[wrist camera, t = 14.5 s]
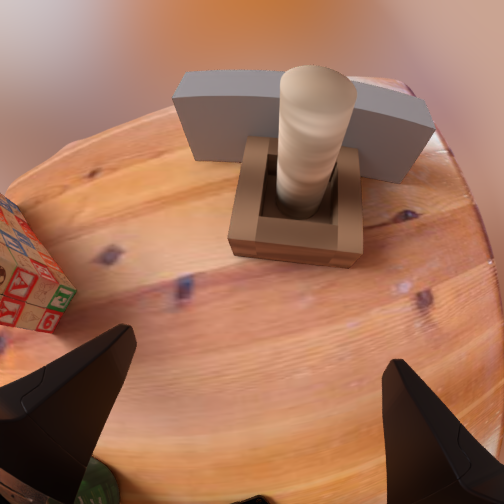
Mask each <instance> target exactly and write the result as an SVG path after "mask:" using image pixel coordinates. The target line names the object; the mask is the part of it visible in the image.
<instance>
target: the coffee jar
mask: <svg viewBox="0 0 504 504" xmlns="http://www.w3.org/2000/svg"><path fill="white" fill-rule="evenodd" d="M86 468H87V469H86V472H85V474H84V477H83V479H82V482H81V485H80V487H79V490H78V493H77V496H76V499H75V501H74V504H119V502H120V496H119V488H118V484H117V481H116V479H115V477H114V475H113V474H112V473H111V471H110V470H109V468H108V467H107V466H105V465H104V464H103V463H101V462H100V461H98V460H97V459H95V458H93V457H91V458H90V461H89V463H88V466H87V467H86ZM48 502H49V504H63V503H61V502H59V501H56V500H54V499H52V498H50V497H49V498H48Z"/></svg>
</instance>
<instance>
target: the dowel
mask: <svg viewBox="0 0 504 504" xmlns="http://www.w3.org/2000/svg"><path fill="white" fill-rule="evenodd" d="M356 99H357V90H356V88H355V86H354V84H353V83H352V82H351V81H350V80H349V79H348V78H347V77H345V76H344V75H342V74H341V73H339V72H337V71H335V70H332V69H329V68H326V67H322V66H314V65H305V66H298V67H294V68H292V69H290V70H288V71H287V72H285V73H284V74H283V76H282V77H281V80H280V110H279V139H278V163H277V185H276V204H277V207H278V208H279V210H280V211H281V212H282V213H283V214H284V215H285V216H287V217H289V218H291V219H295V220H304V219H307V218H310V217H312V216H313V215H314V214H315V213H316V212H317V210H318V208H319V206H320V203H321V201H322V198H323V195H324V192H325V190H326V187H327V184H328V182H329V179H330V176H331V173H332V170H333V168H334V165H335V162H336V159H337V156H338V153H339V151H340V148H341V145H342V142H343V139H344V136H345V133H346V130H347V127H348V124H349V121H350V118H351V115H352V112H353V108H354V105H355V102H356Z"/></svg>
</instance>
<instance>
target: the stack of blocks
mask: <svg viewBox="0 0 504 504" xmlns="http://www.w3.org/2000/svg"><path fill="white" fill-rule="evenodd" d="M76 291H77V290H76V289H75V287H74V286H73V285H72V284H71V283H70V281H69V280H68V279H67V278H66V276H65V275H64V273H63V271H62V270H61V269H60V267H59V266H58V265H57V264H56V262H55V261H54V260H53V259H52V257H51V255H50V254H49V253H48V251H47V250H46V249H45V247H44V246H43V245H42V244H41V243H40V241H39V240H38V239H37V237H36V236H35V234H34V233H33V232H32V230H31V229H30V227H29V226H28V224H27V221H26V220H25V218H24V216H23V215H22V213H21V212H20V210H19V209H18V207H17V205H16V204H14V203H13V202H11V201H10V200H9V199H7V198H6V197H5V196H4V195H2V194H1V193H0V325H4V326H9V327H17V328H23V329H29V330H34V331H38V332H45V333H51V334H52V333H53V331H54V329H55V328H56V326H57V324H58V322H59V320H60V319H61V317H62V315H63V313H64V311H65V309H66V308H67V306H68V304H69V303H70V301H71V299H72V298H73V296H74V294H75V293H76Z"/></svg>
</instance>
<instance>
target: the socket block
mask: <svg viewBox="0 0 504 504" xmlns="http://www.w3.org/2000/svg"><path fill="white" fill-rule="evenodd" d="M278 139H279V138H272V137H259V136H247V141H246V146H245V151H244V156H243V160H242V165H241V170H240V175H239V180H238V185H237V190H236V195H235V201H234V206H233V211H232V216H231V222H230V227H229V232H228V241H229V244H230V246H231V249H232V251H233V254H234V255H235V256H244V257H252V258H261V259H270V260H278V261H287V262H296V263H305V264H314V265H322V266H331V267H340V268H350V267H351V266H352V265H353V264H354V263H355V262H356V261H357V260H358V259H359V257H360V256H361V255H362V254H363V214H362V193H361V178H360V166H359V155H358V149H357V148H351V147H345V146H341V148H340V151H339V153H338V156H337V159H336V162H335V165H334V168H333V170H332V173H331V176H330V179H329V182H328V184H327V187H326V190H325V192H324V195H323V198H322V201H321V203H320V206H319V208H318V210H317V212H316V213H315V214H314V215H313V216H312V217H310V218H307V219H304V220H295V219H291V218H289V217H287V216H285V215H284V214H283V213H282V212H281V211H280V210H279V208H278V207H277V204H276V185H277V163H278Z"/></svg>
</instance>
